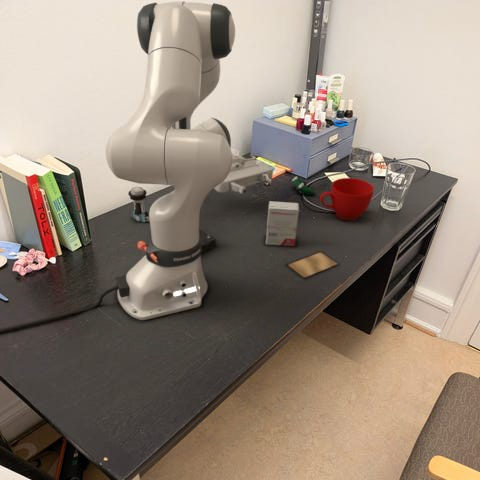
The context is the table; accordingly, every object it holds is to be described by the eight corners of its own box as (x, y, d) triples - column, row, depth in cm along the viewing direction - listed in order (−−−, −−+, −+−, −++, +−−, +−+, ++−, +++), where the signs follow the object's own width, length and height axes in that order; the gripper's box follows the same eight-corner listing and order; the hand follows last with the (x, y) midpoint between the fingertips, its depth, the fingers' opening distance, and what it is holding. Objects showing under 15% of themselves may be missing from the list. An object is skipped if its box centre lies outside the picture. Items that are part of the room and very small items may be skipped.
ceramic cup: (309, 209, 147) (313, 180, 141) (355, 204, 151) (362, 176, 145) (325, 228, 138) (330, 198, 132) (374, 222, 142) (381, 193, 135)
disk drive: (216, 246, 129) (182, 227, 136) (216, 237, 127) (182, 219, 134) (190, 260, 123) (156, 239, 130) (190, 251, 121) (155, 231, 128)
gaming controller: (298, 190, 163) (288, 180, 159) (305, 182, 161) (296, 172, 158) (308, 201, 156) (298, 191, 152) (316, 193, 155) (306, 183, 151)
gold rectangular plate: (304, 278, 118) (304, 277, 118) (287, 265, 122) (288, 264, 122) (337, 264, 123) (337, 263, 123) (320, 253, 127) (320, 252, 127)
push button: (156, 219, 139) (153, 189, 133) (144, 226, 136) (141, 196, 129) (140, 213, 142) (136, 184, 135) (128, 220, 138) (124, 190, 132)
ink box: (294, 238, 133) (299, 202, 125) (294, 247, 129) (299, 210, 122) (266, 236, 134) (269, 200, 126) (265, 244, 130) (268, 208, 122)
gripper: (202, 167, 133) (227, 184, 125) (257, 154, 142) (284, 169, 134) (203, 187, 138) (227, 205, 129) (256, 173, 147) (282, 189, 138)
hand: (257, 186), depth 132 cm, fingers open, 8 cm apart
